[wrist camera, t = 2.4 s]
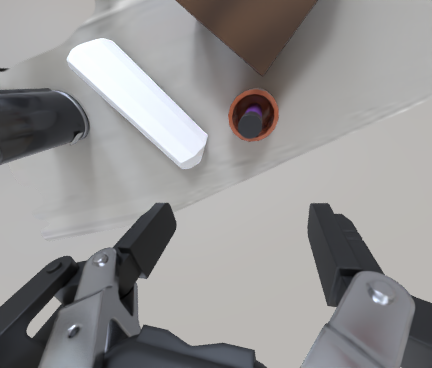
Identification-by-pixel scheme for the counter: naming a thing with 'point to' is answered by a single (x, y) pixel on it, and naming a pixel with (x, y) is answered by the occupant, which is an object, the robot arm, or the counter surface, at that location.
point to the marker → (251, 122)
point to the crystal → (139, 100)
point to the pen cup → (268, 111)
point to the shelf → (251, 25)
